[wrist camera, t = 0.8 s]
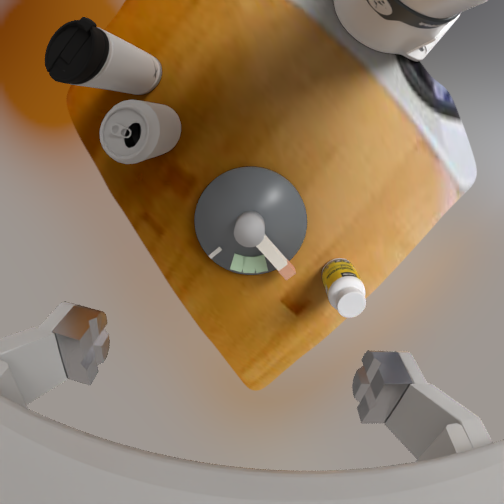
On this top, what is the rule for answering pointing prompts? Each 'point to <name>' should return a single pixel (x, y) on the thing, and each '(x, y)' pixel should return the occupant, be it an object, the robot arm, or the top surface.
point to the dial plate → (249, 199)
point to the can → (139, 131)
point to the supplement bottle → (344, 287)
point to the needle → (261, 241)
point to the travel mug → (100, 60)
